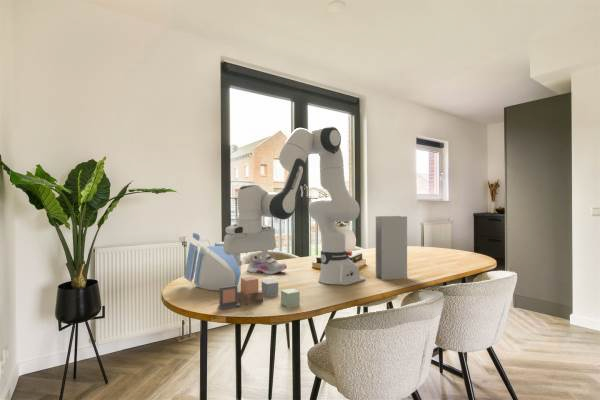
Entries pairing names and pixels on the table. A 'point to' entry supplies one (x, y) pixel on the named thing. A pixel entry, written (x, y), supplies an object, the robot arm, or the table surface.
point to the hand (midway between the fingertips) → (250, 263)
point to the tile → (228, 297)
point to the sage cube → (290, 297)
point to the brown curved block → (249, 298)
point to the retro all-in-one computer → (211, 267)
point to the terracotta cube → (249, 285)
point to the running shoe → (265, 265)
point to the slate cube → (270, 288)
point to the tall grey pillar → (391, 247)
